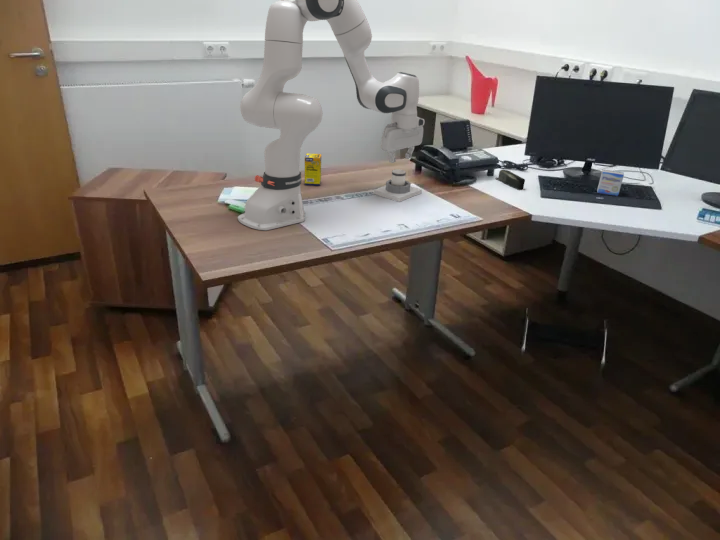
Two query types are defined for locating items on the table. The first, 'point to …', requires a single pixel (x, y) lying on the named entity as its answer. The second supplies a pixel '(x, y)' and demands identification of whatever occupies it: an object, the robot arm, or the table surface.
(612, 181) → the medicine box
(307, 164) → the supplement box
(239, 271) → the table surface
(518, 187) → the dark green long block
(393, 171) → the lens cylinder
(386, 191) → the collar mount
